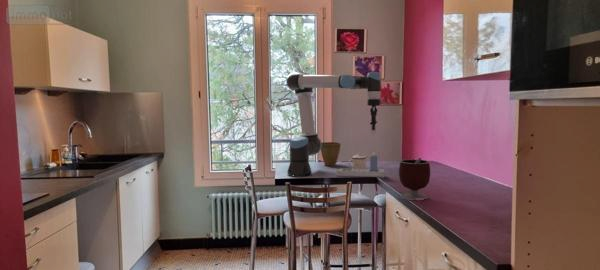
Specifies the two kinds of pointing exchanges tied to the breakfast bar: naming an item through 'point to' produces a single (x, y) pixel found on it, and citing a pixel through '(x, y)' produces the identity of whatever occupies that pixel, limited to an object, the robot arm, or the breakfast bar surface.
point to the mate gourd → (414, 177)
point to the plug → (373, 162)
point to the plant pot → (330, 152)
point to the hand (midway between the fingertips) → (373, 134)
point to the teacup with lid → (358, 161)
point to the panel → (360, 173)
